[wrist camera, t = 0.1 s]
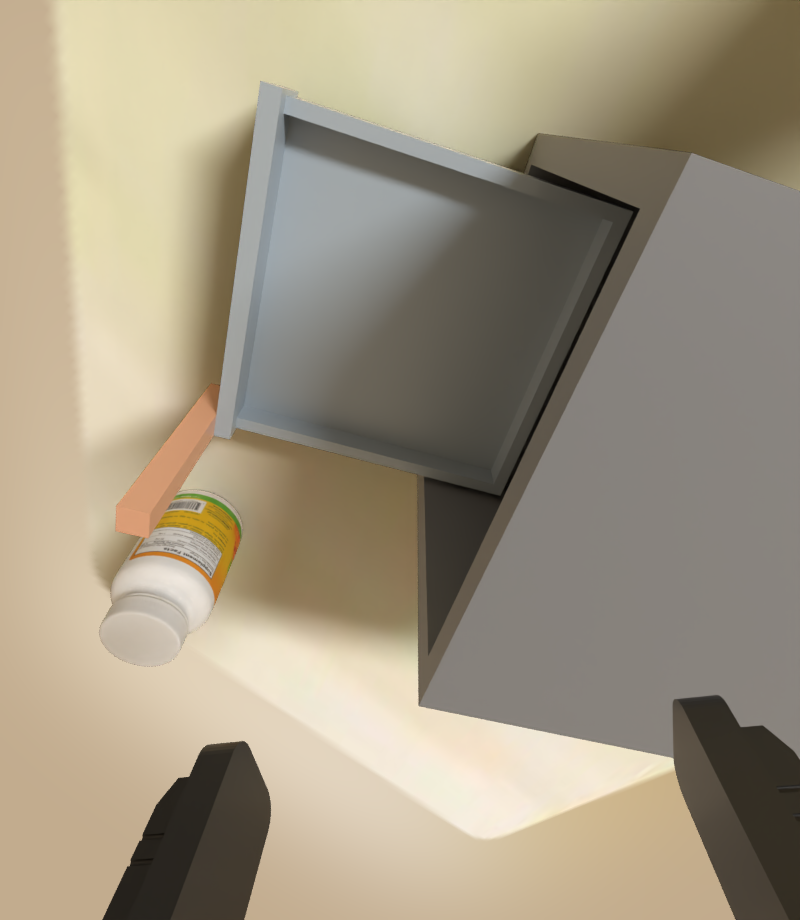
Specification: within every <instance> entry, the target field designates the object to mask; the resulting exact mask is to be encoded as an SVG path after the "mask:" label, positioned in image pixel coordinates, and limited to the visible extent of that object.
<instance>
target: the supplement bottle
mask: <svg viewBox="0 0 800 920" xmlns="http://www.w3.org/2000/svg"><path fill="white" fill-rule="evenodd" d="M242 533H243V526H242V521H241V519H240V516H239V514H238V513H237V511H236V510H235V509H234V507H233V506H232V505H231V504H230V503H228V502H227V501H226V500H224V499H223V498H221V497H220V496H217V495H215V494H213V493H210V492H206V491H202V490H185V491H180V492H178V493H177V494H176V496H175V497H174V499H173V500H172V502H171V504H170V505H169V507H168V508H167V510H166V512H165V513H164V515H163V516H162V518H161V519H160V521H159V523H158V524H157V526H156V527H155V529H154V530H153V532H152V534H151V535H150V537H149V538H144V537H140V538H139V540H138V541H137V543H136V544H135V546H134V547H133V549H132V551H131V552H130V554H129V555H128V557H127V558H126V560H125V561H124V563H123V564H122V566H121V567H120V569H119V570H118V572H117V574H116V576H115V577H114V580H113V582H112V585H111V601H112V604H113V605H112V606H111V608H110V609H109V611H108V613H107V615H106V617H105V618H104V620H103V622H102V624H101V626H100V630H99V635H100V639H101V642H102V643H103V645H104V646H105V648H106V649H107V650H108V651H109V652H110V653H112V654H113V655H114V656H115V657H117V658H119V659H121V660H123V661H125V662H128V663H131V664H134V665H139V666H147V667H150V666H151V667H153V666H160V665H163V664H166V663H168V662H170V661H172V660H173V659H174V658H175V657H176V656H177V655H178V653H179V652H180V650H181V647H182V645H183V643H184V641H185V639H186V636H187V634H189V633H192V632H194V631H195V630H197V629H198V628H200V627H201V626H202V625H203V624H204V623H205V622H206V621H207V619H208V618H209V616H210V614H211V612H212V610H213V607H214V605H215V603H216V600H217V598H218V595H219V593H220V590H221V588H222V586H223V583H224V581H225V578H226V576H227V573H228V571H229V568H230V566H231V564H232V561H233V559H234V556H235V554H236V552H237V549H238V546H239V544H240V541H241V538H242Z"/></svg>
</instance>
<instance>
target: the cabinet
mask: <svg viewBox="0 0 800 920" xmlns="http://www.w3.org/2000/svg"><path fill="white" fill-rule="evenodd" d="M524 174H527V175H530V176H533V177H536V178H539V179H542V180H545V181H548V182H551V183H554V184H557V185H560V186H563V187H566V188H569V189H572V190H575V191H578V192H581V193H584V194H587V195H590V196H593V197H596V198H599V199H602V200H605V201H608V202H611V203H614V204H617V205H619V206H621V207H624V208H626V209H628V210H631V211H633V214H632V216H631V218H630V220H629V222H628V224H627V226H626V229H625V231H624V233H623V235H622V237H621V239H620V241H619V244H618V246H617V248H616V250H615V252H614V254H613V256H612V258H611V261H610V263H609V265H608V267H607V269H606V271H605V273H604V276H603V278H602V280H601V282H600V284H599V286H598V288H597V290H596V293H595V295H594V297H593V299H592V301H591V303H590V305H589V308H588V310H587V312H586V314H585V316H584V318H583V320H582V323H581V325H580V327H579V329H578V331H577V333H576V335H575V337H574V340H573V342H572V344H571V346H570V348H569V350H568V352H567V355H566V357H565V359H564V361H563V363H562V365H561V367H560V369H559V372H558V374H557V376H556V378H555V380H554V382H553V384H552V387H551V389H550V391H549V393H548V395H547V397H546V399H545V401H544V404H543V406H542V408H541V410H540V412H539V414H538V416H537V419H536V421H535V423H534V425H533V427H532V429H531V431H530V433H529V436H528V438H527V440H526V442H525V444H524V446H523V448H522V451H521V453H520V455H519V457H518V459H517V461H516V463H515V465H514V468H513V470H512V472H511V474H510V476H509V478H508V480H507V483H506V485H505V487H504V489H503V491H502V493H501V495H500V496H499V495H495V494H491V493H487V492H484V491H480V490H476V489H472V488H468V487H464V486H460V485H456V484H452V483H449V482H445V481H441V480H437V479H433V478H429V477H425V476H421V475H417V503H418V692H419V706H421V707H426V708H431V709H436V710H440V711H445V712H450V713H455V714H460V715H465V716H470V717H475V718H480V719H485V720H490V721H495V722H499V723H504V724H509V725H514V726H519V727H524V728H529V729H534V730H539V731H544V732H549V733H554V734H558V735H563V736H568V737H573V738H578V739H583V740H588V741H593V742H598V743H603V744H608V745H613V746H617V747H622V748H627V749H632V750H637V751H642V752H647V753H652V754H657V755H662V756H667V757H672V758H674V757H673V708H672V707H673V701H674V699H681V698H691V697H701V696H711V695H719V696H721V697H722V698H723V699H724V700H725V702H726V703H727V705H728V706H729V708H730V710H731V712H732V713H733V715H734V717H735V718H736V720H737V722H738V723H739V725H740V727H749V726H760V725H763V726H764V727H766V728H767V729H768V730H769V731H770V732H772V733H773V734H774V735H775V736H776V737H778V738H779V739H780V740H781V741H782V742H784V743H785V744H786V745H787V746H789V747H790V748H791V749H792V750H793V751H794V752H795V753H796V755H797V756H798V758H799V759H800V191H798V190H795V189H792V188H790V187H787V186H784V185H781V184H778V183H776V182H773V181H770V180H767V179H764V178H761V177H759V176H756V175H753V174H750V173H747V172H744V171H742V170H739V169H736V168H733V167H730V166H728V165H725V164H722V163H719V162H716V161H713V160H711V159H708V158H705V157H702V156H699V155H697V154H694V153H689V152H682V151H674V150H666V149H658V148H650V147H642V146H634V145H627V144H619V143H611V142H603V141H595V140H587V139H580V138H572V137H564V136H556V135H548V134H540V133H538V135H537V138H536V141H535V143H534V146H533V149H532V152H531V154H530V157H529V160H528V163H527V166H526V168H525V171H524Z"/></svg>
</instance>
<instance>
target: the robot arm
mask: <svg viewBox="0 0 800 920" xmlns="http://www.w3.org/2000/svg"><path fill="white" fill-rule="evenodd" d="M672 708H673V757H674V765H675V770H676V775H677V779H678V782H679V786H680V789H681V792H682V794H683V797H684V799H685V802H686V804H687V806H688V809H689V811H690V813H691V816H692V818H693V821H694V823H695V825H696V827H697V830H698V832H699V835H700V837H701V839H702V842H703V844H704V846H705V849H706V851H707V853H708V856H709V858H710V861H711V863H712V865H713V868H714V870H715V872H716V874H717V877H718V879H719V882H720V884H721V886H722V889H723V891H724V893H725V896H726V898H727V901H728V903H729V905H730V908H731V910H732V912H733V915H734V917H735V919H736V920H800V759H799V758H798V756H797V755H796V753H795V752H794V751H793V750H792V749H791V748H790V747H789V746H787V745H786V744H785V743H784V742H782V741H781V740H780V739H779V738H778V737H776V736H775V735H774V734H773V733H772V732H770V731H769V730H768V729H767V728H766V727H764V726H763V725H760V726H749V727H740V725H739V723H738V722H737V720H736V718H735V717H734V715H733V713H732V712H731V710H730V708H729V706H728V705H727V703H726V702H725V700H724V699H723V698H722V697H721V696H719V695H711V696H701V697H691V698H681V699H674V701H673V707H672ZM270 817H271V803H270V796H269V792H268V789H267V787H266V785H265V782H264V780H263V778H262V775H261V773H260V771H259V768H258V766H257V764H256V761H255V759H254V757H253V755H252V752H251V750H250V748H249V746H248V744H247V743H246V742H244V741H240V742H230V743H220V744H211V745H206V746H205V747H204V748H203V749H202V750H201V752H200V754H199V756H198V758H197V760H196V763H195V765H194V767H193V770H192V772H191V774H190V776H189V777H184V778H178V779H177V781H176V782H175V783H174V784H173V785H172V787H171V788H170V789H169V790H168V791H167V793H166V794H165V795H164V796H163V797H162V799H161V800H160V801H159V802H158V804H157V805H156V807H155V809H154V812H153V813H152V815H151V817H150V820H149V822H148V824H147V826H146V828H145V830H144V832H143V838H142V841H139V843H138V845H137V847H136V850H135V852H134V854H133V856H132V858H131V864H130V866H129V867H127V869H126V871H125V873H124V875H123V877H122V879H121V881H120V884H119V886H118V888H117V890H116V892H115V894H114V896H113V898H112V901H111V903H110V905H109V907H108V909H107V911H106V913H105V915H104V918H103V920H244V918H245V915H246V911H247V907H248V903H249V900H250V896H251V892H252V889H253V885H254V881H255V877H256V874H257V870H258V866H259V863H260V859H261V855H262V851H263V848H264V844H265V840H266V837H267V833H268V829H269V824H270Z"/></svg>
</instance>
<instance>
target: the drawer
mask: <svg viewBox="0 0 800 920" xmlns="http://www.w3.org/2000/svg"><path fill="white" fill-rule="evenodd" d="M297 96H298V91H295V90H292V89H289V88H286V87H283V86H280V85H276V84H272V83H268V82H263V81H260V89H259V96H258V104H257V112H256V119H255V127H254V134H253V142H252V149H251V157H250V165H249V172H248V180H247V187H246V195H245V202H244V210H243V218H242V225H241V233H240V240H239V248H238V255H237V263H236V271H235V278H234V286H233V293H232V301H231V309H230V316H229V324H228V331H227V339H226V346H225V354H224V362H223V369H222V377H221V384H220V386H219V385H216V384H212V383H211V384H210V385H209V386H208V388H207V389H206V390H205V392H204V393H203V394H202V395H201V397H200V398H199V399H198V401H197V402H196V403H195V405H194V406H193V407H192V408H191V410H190V411H189V412H188V414H187V415H186V416H185V417H184V419H183V420H182V421H181V423H180V424H179V425H178V427H177V428H176V429H175V430H174V432H173V433H172V434H171V436H170V437H169V438H168V440H167V441H166V442H165V443H164V445H163V446H162V447H161V449H160V450H159V451H158V453H157V454H156V455H155V456H154V458H153V459H152V460H151V462H150V463H149V464H148V466H147V467H146V468H145V469H144V471H143V472H142V473H141V475H140V476H139V477H138V479H137V480H136V481H135V482H134V484H133V485H132V486H131V488H130V489H129V490H128V492H127V493H126V494H125V495H124V497H123V498H122V499H121V501H120V502H119V503H118V504H117V506H116V531H118V532H122V533H126V534H131V535H135V536H140V537H144V538H149V537H150V535H151V534H152V532H153V530H154V529H155V527H156V526H157V524H158V523H159V521H160V519H161V518H162V516H163V515H164V513H165V512H166V510H167V508H168V507H169V505H170V504H171V502H172V500H173V499H174V497H175V496H176V494H177V493H178V491H179V489H180V488H181V486H182V485H183V483H184V482H185V480H186V478H187V477H188V475H189V474H190V472H191V471H192V469H193V467H194V466H195V464H196V463H197V461H198V460H199V458H200V456H201V455H202V453H203V452H204V450H205V448H206V447H207V445H208V444H209V442H210V441H211V439H212V437H213V436H218V437H222V438H226V439H230V438H231V437H232V435H233V433H234V431H235V430H236V428H239V429H242V430H246V431H250V432H254V433H258V434H262V435H266V436H270V437H274V438H277V439H281V440H285V441H289V442H293V443H297V444H301V445H305V446H309V447H312V448H316V449H320V450H324V451H328V452H332V453H336V454H340V455H344V456H347V457H351V458H355V459H359V460H363V461H367V462H371V463H375V464H379V465H382V466H386V467H390V468H394V469H398V470H402V471H406V472H410V473H414V474H417V475H421V476H425V477H429V478H433V479H437V480H441V481H445V482H449V483H452V484H456V485H460V486H464V487H468V488H472V489H476V490H480V491H484V492H487V493H491V494H495V495H499V496H500V495H501V493H502V491H503V489H504V487H505V485H506V483H507V480H508V478H509V476H510V474H511V472H512V470H513V468H514V465H515V463H516V461H517V459H518V457H519V455H520V453H521V451H522V448H523V446H524V444H525V442H526V440H527V438H528V436H529V433H530V431H531V429H532V427H533V425H534V423H535V421H536V419H537V416H538V414H539V412H540V410H541V408H542V406H543V404H544V401H545V399H546V397H547V395H548V393H549V391H550V389H551V387H552V384H553V382H554V380H555V378H556V376H557V374H558V372H559V369H560V367H561V365H562V363H563V361H564V359H565V357H566V355H567V352H568V350H569V348H570V346H571V344H572V342H573V340H574V337H575V335H576V333H577V331H578V329H579V327H580V325H581V323H582V320H583V318H584V316H585V314H586V312H587V310H588V308H589V305H590V303H591V301H592V299H593V297H594V295H595V293H596V290H597V288H598V286H599V284H600V282H601V280H602V278H603V276H604V273H605V271H606V269H607V267H608V265H609V263H610V261H611V258H612V256H613V254H614V252H615V250H616V248H617V246H618V244H619V241H620V239H621V237H622V235H623V233H624V231H625V229H626V226H627V224H628V222H629V220H630V218H631V216H632V214H633V211H631V210H628V209H626V208H624V207H621V206H619V205H617V204H614V203H611V202H608V201H605V200H602V199H599V198H596V197H593V196H590V195H587V194H584V193H581V192H578V191H575V190H572V189H569V188H566V187H563V186H560V185H557V184H554V183H551V182H548V181H545V180H542V179H539V178H536V177H533V176H530V175H527V174H524V173H521V172H518V171H515V170H512V169H509V168H506V167H503V166H500V165H497V164H495V163H492V162H489V161H486V160H483V159H480V158H477V157H474V156H471V155H468V154H465V153H462V152H459V151H456V150H453V149H450V148H447V147H444V146H441V145H438V144H435V143H432V142H429V141H426V140H423V139H420V138H417V137H414V136H411V135H408V134H405V133H402V132H399V131H396V130H393V129H390V128H387V127H384V126H381V125H378V124H375V123H372V122H369V121H366V120H363V119H360V118H357V117H354V116H351V115H348V114H345V113H343V112H340V111H337V110H334V109H331V108H328V107H325V106H322V105H319V104H316V103H313V102H310V101H307V100H304V99H301V98H298V97H297Z"/></svg>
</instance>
